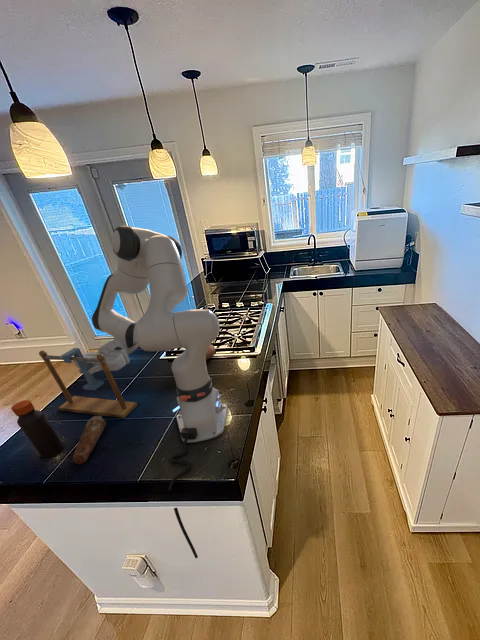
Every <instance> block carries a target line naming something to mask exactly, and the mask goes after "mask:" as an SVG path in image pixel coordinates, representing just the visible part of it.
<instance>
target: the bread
mask: <svg viewBox="0 0 480 640" xmlns="http://www.w3.org/2000/svg"><path fill="white" fill-rule="evenodd" d="M106 426H107V420H105V419H104V418H103V415H94V416H92V417H91V418H90V419H89V420H87V422H86V424H85V426H84V428H83V431H82V433H81V435H80V437H79V440H78V443H77V445H76V448H75V449H74V452H73V456H72V462H73V463H75V464H77V465H82V464H85V463H86V462H87V461H88V459H89V457H90V455H91V454H92V452H93V450H94V449H95V446H96V444H97V442H98V440H99V439H100V437H101V436H102V433H103V432H104V430H105V428H106Z"/></svg>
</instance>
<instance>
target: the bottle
mask: <svg viewBox="0 0 480 640" xmlns="http://www.w3.org/2000/svg"><path fill="white" fill-rule="evenodd" d="M10 410H11V411H12V412H13V414H14V415H15V416H16V417H18V419H17V420H16V423H17V425H18V426H19V428H20V429H21V431H22V432H23V433H24V435H25V437H27V439H28V440H29V442H30V443H31V444H32V446H33V447H34V448H35V450H36V451H37V453H39V455H40V456H41V458H43V459H51V458H55V457H57V456H58V455H60V454H61V453H62V452H63V451H64V449H65V444H64V443H63V441H62V440H61V438H60V437H59V435H58V434H57V432H56V431H55V430H54V428H53V426H52V425H51V424H50V422H49V421H48V419H47V418H46V416H45V415H44V413H43V411H42V410H38V409H35V406H34V405H33V403H32V401H31V400H29V399H23V400H20V401H18V402H16V403H14V404H13V405H12V406H11V408H10Z"/></svg>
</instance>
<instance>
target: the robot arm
mask: <svg viewBox="0 0 480 640" xmlns="http://www.w3.org/2000/svg"><path fill="white" fill-rule="evenodd" d="M111 245H112V250H113V253H114V254H115V256H116V257H118V261H117V262H118V263H117V267H116V270H115V273H111V274H109V275H108V276H107V278H106V279H105V282H104V284H103V287H102V290H101V293H100V296H99V299H98V302H97V305H96V308H95V309H94V311H93V313H92V316H91V322H92V326H93V327H94V329H96V330H97V331H99V332H101V333H106V334H107V335H109V336H111V337H113V339H112V340H110V341H107V342H106V343H104V344H103V345H102V346H100V347H99V348H98V349H97V352H85V353H82V355H83V357H84V358H97V355H98V354H103V355H104V357H105V360H106V363H107V365H108V367H109V370H110V372H117V371H119V370H121V369H122V368H124V367H125V366H126V365H129V364H130V363H131V360H130V357H129V356H130V355H131V354H132V353H134V352H135V351H136V350H137V349H138V348H140V349H141V350H143V351H145V352H165V351H170V350H176V349H182V348H184V349H185V350H183V352H182V353H180V354H179V355H177V356H176V357H175V358H174V360H173V361H172V363H171V372H172V376H173V378H174V381H175V384H176V385H175V387H176V393H177V397H176V398H175V399H176V402H177V404H178V406H177V407H175V408H174V409H172V412H173V413H175V412H177V410H179V411H178V413H177V414H176V416H175V418H176V422H177V425H178V429H179V430H178V431H179V434H180V439H181V441H182V442H183V444H182V448H183V452H180V453H176V454H173V455H171V457H170V462H171V463H172V464H178V465H181V464H182V465H183V464H184V465H186V468H185V469H183V470H181V472H179V473H177V474H176V475H175V476H174V477H173V478H172V479H171V481H170V482H169V484H168V492H170V491H172V490H173V486H174V484H175V482H176V481H177V480H178V479H179V478H181V477H182V476H184V475H185V474H186V473H187V472H189V470H190V468H191V463H190V462H189V461H187V460H177V459H175V458H180V457H183V456H185V455H186V454H187V453H188V448H187V444H188V443H200V442H203V441H207V440H212V439H214V438H216V437H218V436H220V435H222V434H223V433H224V431H225V426H226V420H227V415H228V410H229V406H228V405H227V404H225V403H222V399H221V395H220V392H219V389H217V388H215V387H213V382H212V381H213V380H212V378H211V377H210V375H209V372H208V368H207V360H206V352H207V350H208V348H209V346H210V344H211V345H212V343H213V342H214V341H216V339H217V338H218V336H219V333H220V330H221V329H220V328H221V326H220V321H219V318H218V317H217V315H216V314H215V313H214V311H212V310H211V309H203V308H194V309H186V310H181V311H175V312H174V309H175V308H176V307H177V306H178V305H180V304H181V303H182V302H183V301H184V300H185V299H186V297H187V295H188V293H189V288H188V283H187V279H186V274H185V270H184V266H183V261H182V258H183V248H182V244H181V243H180V241H179V239H177V238H175V237H174V236H171V235H165V234H164V233H163V234H162V233H160V232H156V231H154V230H153V231H152V230H151V229H147V228H141V227H132V226H131V225H117V227H115V228H114V229H113V231H112V236H111ZM148 286H149V295H150V296H149V303H148V306H147V308H146V310H145V312H144V313H143V315H142V316H141V317H140V318H139V319H138V320H137V321H135V320H133V319H131V318H129V317H127V316H124V314H121V313H118V312H117V311H116V310H115V309H114V305H115V302H116V299H117V296H118V294H127V295H134V294H140V293H142V292H144V291H145V290H146V289H147V288H148ZM72 363H73V364H74V366H75V368H76V369H78V370H77V371H78V373H79V374H82V375H84V374H83V372H82V370H81V369H80V367H79V365H78V363H77V361H72ZM86 363H87V365H88V367H89V369H88V370H87V373H88V374H93V375H94V374H95V373H98V372H101V371H104V370H103V368H102V366H101V364H100V363H99V362H86ZM173 511H174V514H175V517H176V520H177V522H178V525H179V527H180V530H181V533H182V534H183V537H184V538H185V540H186V542H187V544H188V546H189V548H190V550H191V552H192V554H193V556H194V558H195V559H198V557H199V556H198V553H197V551H196V549H195V546H194V545H193V543H192V540H191V538H190V537H189V534H188V532H187V530H186V528H185V526H184V524H183V520H182V518H181V516H180V512H179V510H178V507H174V508H173Z"/></svg>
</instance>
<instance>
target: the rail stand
mask: <svg viewBox="0 0 480 640" xmlns="http://www.w3.org/2000/svg"><path fill="white" fill-rule="evenodd" d="M38 355H39V357H40V358H41V359H42V360H43V362H44V363H45V365H46V367H47V369H48V370H49V372H50V374H51V375H52V377H53V379H54V380H55V382H56V384H57V385H58V387H59V389H60V391H61V392H62V394H63V396H64V398H65V399H66V401H65V402H64V403H63V404H62V405H60V406H59V407H58V409H59V411H62V412H63V411H64V412H70V413H78V414H80V413H81V414H87V415H94V416H102V417H103V416H105V417H113V418H120V419H125V418H126V417H127V416H128V415H129V414H131V412H132V411H133V410H134V409H136V408H137V407H138V403H137V402H135V401H127V400H125V399H124V397H123V396H122V393H121V391H120V389H119V387H118V385H117V382H116V380H115V378H114V376H113V374H112V371H110V370H109V367H108V365H107V363H106V360H105V357H104V355H103V354H98V355H97V358H84V357H74V356H72V357H70V359H71V361H72V362H73V361H85V362H99V363H100V364H101V366H102V368H103V370H102V371H103V372H104V374H105V377H106V379H107V380H108V382H109V385H110V387H111V390H112V391H113V393H114V395H115V398H116V399H106V398H99V397H87V396H79V395H73V396H72V395H71V394H70V392H69V390H68V389H67V387H66V385H65V383H64V381H63V380H62V378H61V376H60V375H59V373H58V371H57V369H56V368H55V366H54V364H53V363H52V361H51V360H56V361H57V360H58V361H64V360H63V358H62V356H61V355H53V354H51V355H50V354H48V352H47V351H46V350H40V351H39V352H38Z"/></svg>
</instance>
